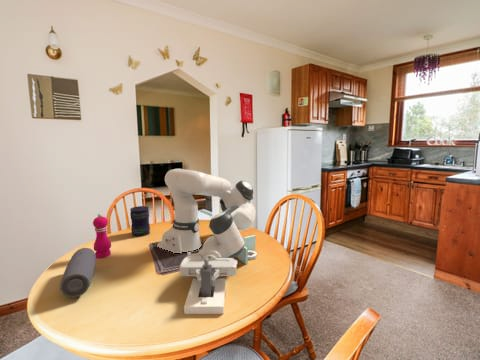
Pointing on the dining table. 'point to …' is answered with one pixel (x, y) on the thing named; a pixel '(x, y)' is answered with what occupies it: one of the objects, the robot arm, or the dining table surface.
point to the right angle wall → (248, 249)
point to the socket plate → (206, 298)
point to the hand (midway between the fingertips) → (206, 279)
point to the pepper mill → (101, 237)
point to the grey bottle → (206, 279)
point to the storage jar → (140, 221)
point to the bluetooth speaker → (78, 273)
